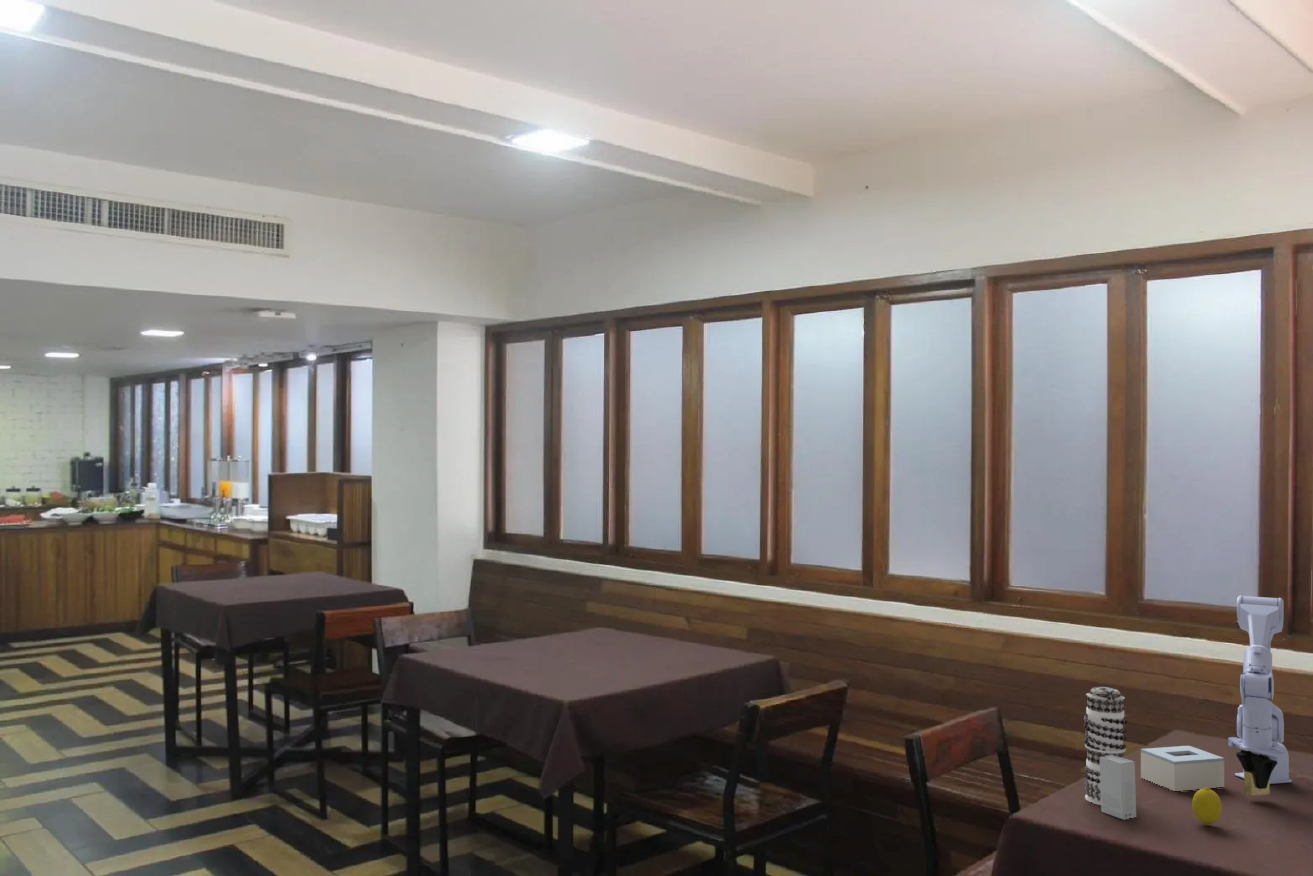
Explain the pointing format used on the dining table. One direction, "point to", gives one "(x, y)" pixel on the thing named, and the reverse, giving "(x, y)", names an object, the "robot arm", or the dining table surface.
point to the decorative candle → (1102, 735)
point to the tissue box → (1182, 768)
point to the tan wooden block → (1253, 784)
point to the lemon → (1207, 806)
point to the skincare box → (1118, 787)
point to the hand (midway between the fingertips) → (1257, 786)
